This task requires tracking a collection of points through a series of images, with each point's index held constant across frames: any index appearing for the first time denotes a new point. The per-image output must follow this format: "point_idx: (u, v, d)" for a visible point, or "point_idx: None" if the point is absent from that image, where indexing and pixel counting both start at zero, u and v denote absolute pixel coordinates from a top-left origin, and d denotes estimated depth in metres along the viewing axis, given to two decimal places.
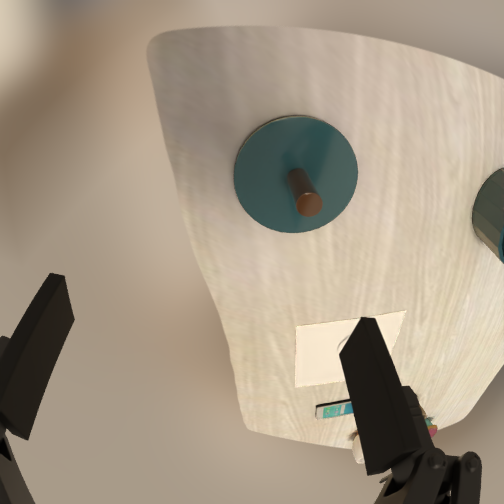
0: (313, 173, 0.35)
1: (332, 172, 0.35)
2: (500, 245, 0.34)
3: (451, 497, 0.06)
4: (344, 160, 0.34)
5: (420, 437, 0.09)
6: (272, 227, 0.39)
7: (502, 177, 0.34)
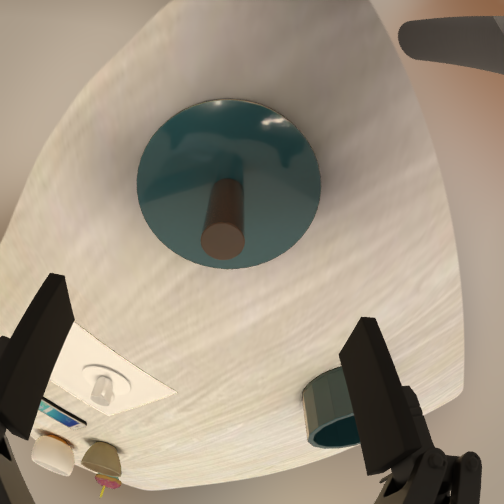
0: (246, 207, 0.25)
1: (264, 227, 0.26)
2: (323, 426, 0.35)
3: (451, 497, 0.06)
4: (287, 229, 0.26)
5: (420, 437, 0.09)
6: (143, 208, 0.25)
7: None
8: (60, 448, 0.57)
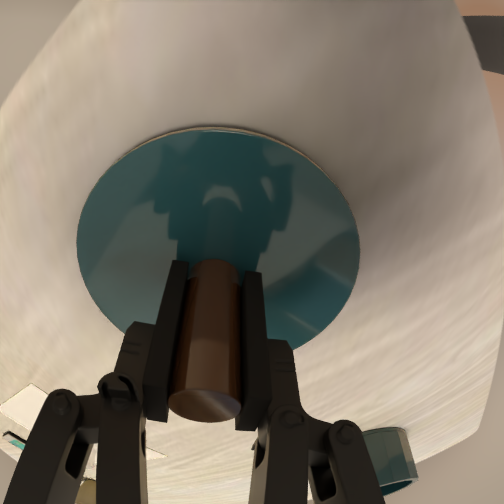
0: None
1: (270, 321, 0.17)
2: None
3: (335, 480, 0.07)
4: (304, 322, 0.18)
5: (284, 393, 0.10)
6: (93, 294, 0.16)
7: (394, 440, 0.30)
8: None
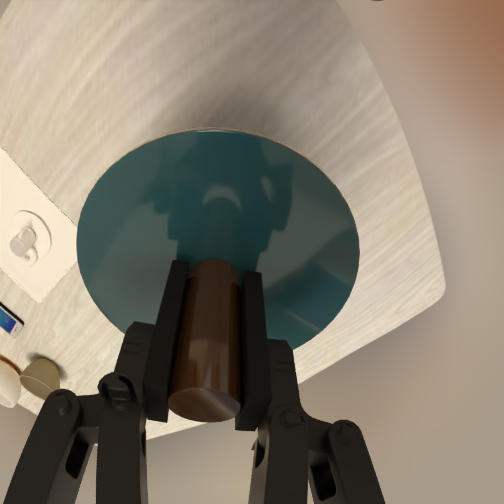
0: None
1: (269, 321, 0.17)
2: None
3: (335, 480, 0.07)
4: (304, 322, 0.18)
5: (284, 393, 0.10)
6: (93, 294, 0.16)
7: None
8: (5, 370, 0.54)
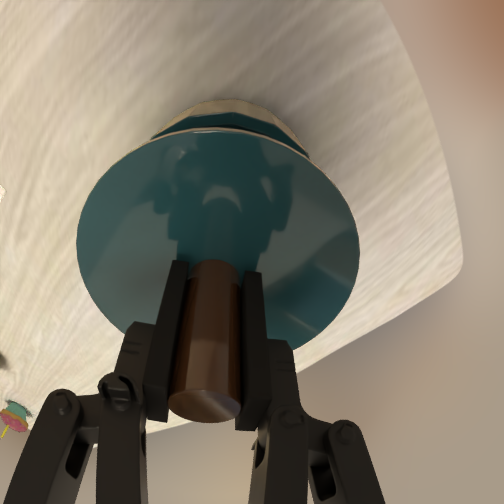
0: None
1: (270, 321, 0.17)
2: None
3: (335, 479, 0.07)
4: (304, 323, 0.18)
5: (284, 393, 0.10)
6: (93, 294, 0.16)
7: (256, 107, 0.22)
8: None
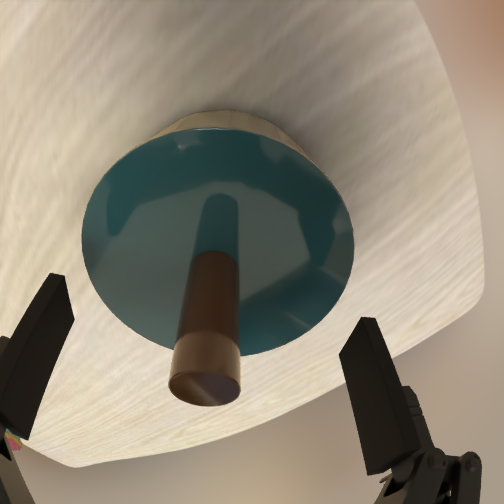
0: (242, 289, 0.17)
1: (268, 312, 0.18)
2: None
3: (451, 497, 0.06)
4: (301, 314, 0.18)
5: (420, 437, 0.09)
6: (97, 286, 0.17)
7: (259, 121, 0.18)
8: None
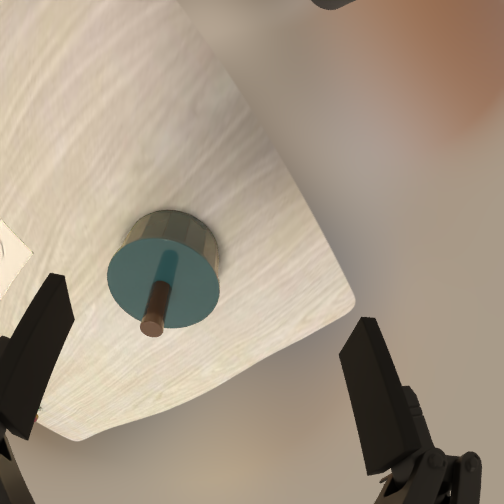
0: (174, 295, 0.39)
1: (186, 306, 0.40)
2: None
3: (451, 497, 0.06)
4: (201, 307, 0.40)
5: (420, 437, 0.09)
6: (113, 294, 0.39)
7: (182, 219, 0.40)
8: None
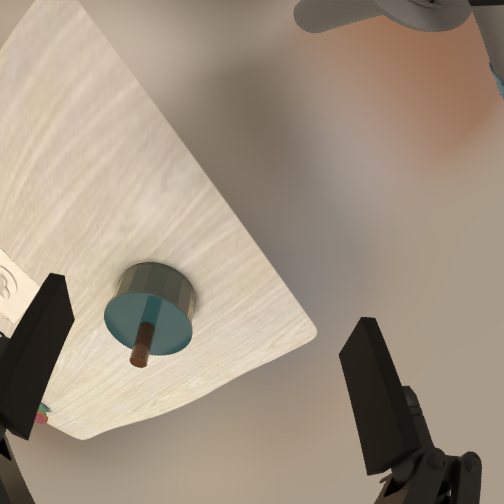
0: (157, 332, 0.48)
1: (167, 340, 0.49)
2: None
3: (451, 497, 0.06)
4: (179, 341, 0.49)
5: (420, 437, 0.09)
6: (109, 329, 0.47)
7: (162, 272, 0.49)
8: None
